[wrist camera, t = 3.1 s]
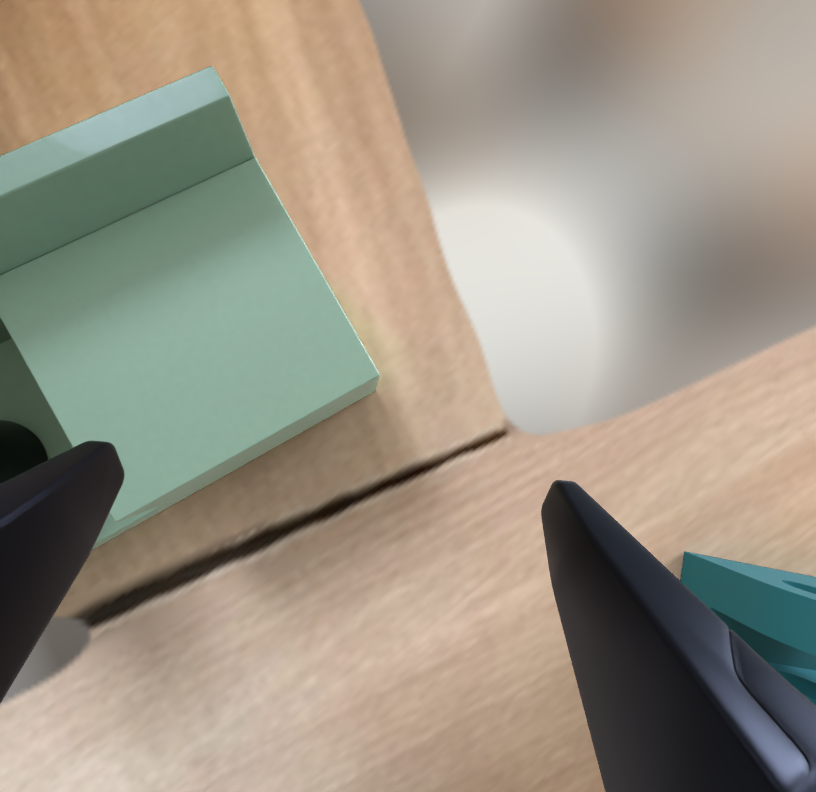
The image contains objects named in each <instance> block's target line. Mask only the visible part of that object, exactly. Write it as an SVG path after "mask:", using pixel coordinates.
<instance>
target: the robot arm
mask: <svg viewBox="0 0 816 792" xmlns="http://www.w3.org/2000/svg"><path fill="white" fill-rule="evenodd" d="M124 476H125V474H124V469H123V466H122V464H121V461H120V459H119V456H118V453H117V451H116V448H115V446H114V445H113V444H112V443H110V442H104V441H86V442H84V443H81V444H79V445H77V446H75V447H73V448H71V449H69V450H67V451H65V452H63V453H61V454H59V455H57V456H55V457H53V458H51V459H49V460H47V461H45V462H43V463H41V464H39V465H37V466H35V467H33V468H31V469H29V470H27V471H25V472H23V473H21V474H19V475H17V476H15V477H13V478H11V479H9V480H7V481H5V482H3V483H1V484H0V703H1V702H2V700H3V698H4V697H5V695H6V693H7V691H8V690H9V688H10V687H11V685H12V683H13V681H14V680H15V678H16V677H17V675H18V673H19V672H20V670H21V668H22V666H23V665H24V663H25V661H26V660H27V658H28V657H29V655H30V653H31V652H32V650H33V648H34V646H35V645H36V643H37V642H38V640H39V638H40V637H41V635H42V633H43V632H44V630H45V628H46V627H47V625H48V623H49V622H50V620H51V618H52V617H53V615H54V613H55V612H56V610H57V608H58V606H59V605H60V603H61V601H62V600H63V598H64V596H65V595H66V593H67V591H68V590H69V588H70V586H71V585H72V583H73V581H74V580H75V578H76V576H77V575H78V573H79V571H80V570H81V568H82V566H83V565H84V563H85V561H86V559H87V558H88V556H89V554H90V552H91V550H92V548H93V546H94V544H95V542H96V540H97V538H98V536H99V534H100V532H101V530H102V527H103V525H104V523H105V521H106V519H107V517H108V514H109V512H110V510H111V508H112V506H113V504H114V501H115V499H116V497H117V495H118V493H119V491H120V489H121V486H122V484H123V481H124ZM541 516H542V523H543V530H544V537H545V543H546V550H547V557H548V564H549V571H550V577H551V582H552V587H553V591H554V596H555V600H556V603H557V607H558V611H559V615H560V619H561V623H562V626H563V630H564V634H565V638H566V642H567V646H568V649H569V653H570V657H571V661H572V665H573V669H574V672H575V676H576V680H577V684H578V688H579V692H580V695H581V699H582V703H583V707H584V711H585V715H586V718H587V722H588V726H589V730H590V734H591V738H592V741H593V745H594V749H595V753H596V757H597V761H598V764H599V768H600V772H601V776H602V780H603V784H604V787H605V791H606V792H816V705H815V704H813V703H812V702H811V701H810V700H809V699H808V698H806V697H805V696H804V695H803V694H802V693H801V692H800V691H798V690H797V689H796V688H795V687H794V686H793V685H791V684H790V683H789V682H788V681H787V680H786V679H785V678H784V677H782V676H781V675H780V674H779V673H778V672H777V671H776V670H775V669H774V668H773V667H772V666H770V665H769V664H768V663H767V662H766V661H765V660H764V659H763V658H762V657H761V656H760V655H758V654H757V653H756V652H755V651H754V650H753V649H752V648H751V647H750V646H749V645H748V644H747V643H746V642H744V641H743V640H742V639H741V638H740V637H739V636H738V635H737V634H736V633H735V632H734V631H733V630H729V629H728V626H727V625H726V624H725V623H724V622H723V621H722V620H721V619H720V618H719V617H718V616H717V615H716V614H715V613H714V612H712V611H711V610H710V609H709V608H708V607H707V606H706V605H705V604H704V603H703V602H702V601H701V600H700V599H699V598H698V597H697V596H695V595H694V594H693V593H692V592H691V591H690V590H689V589H688V588H687V587H686V586H685V585H684V584H683V583H682V582H681V581H680V580H679V579H677V578H676V577H675V576H674V575H673V574H672V573H671V572H670V571H669V570H668V569H667V568H666V567H665V566H664V565H663V564H662V563H660V562H659V561H658V560H657V559H656V558H655V557H654V556H653V555H652V554H651V553H650V552H649V551H648V550H647V549H646V548H645V547H644V546H642V545H641V544H640V543H639V542H638V541H637V540H636V539H635V538H634V537H633V536H632V535H631V534H630V533H629V532H628V531H627V530H625V529H624V528H623V527H622V526H621V525H620V524H619V523H618V522H617V521H616V520H615V519H614V518H613V517H612V516H611V515H610V514H608V513H607V512H606V511H605V510H604V509H603V508H602V507H601V506H600V505H599V504H598V503H597V502H596V501H595V500H594V499H593V498H592V497H590V496H589V495H588V494H587V493H586V492H585V491H584V490H583V489H582V488H581V487H580V486H579V485H578V484H576V483H575V482H572V481H562V480H556V481H554V482H553V484H552V485H551V487H550V490H549V492H548V494H547V496H546V498H545V500H544V503H543V505H542V510H541Z"/></svg>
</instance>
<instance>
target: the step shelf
mask: <svg viewBox="0 0 816 792" xmlns="http://www.w3.org/2000/svg"><path fill="white" fill-rule="evenodd" d="M379 376H380V374H379V372H378V370H377V368H376V367H375V365H374V363H373V361H372V360H371V358H370V356H369V354H368V353H367V351H366V349H365V347H364V346H363V344H362V342H361V340H360V339H359V337H358V335H357V333H356V332H355V330H354V328H353V326H352V325H351V323H350V321H349V319H348V318H347V316H346V314H345V312H344V311H343V309H342V307H341V305H340V304H339V302H338V300H337V299H336V297H335V295H334V293H333V292H332V290H331V288H330V286H329V285H328V283H327V281H326V279H325V278H324V276H323V274H322V272H321V271H320V269H319V267H318V265H317V264H316V262H315V260H314V258H313V257H312V255H311V253H310V251H309V250H308V248H307V246H306V244H305V243H304V241H303V239H302V237H301V236H300V234H299V232H298V230H297V229H296V227H295V225H294V223H293V222H292V220H291V218H290V216H289V215H288V213H287V211H286V209H285V208H284V206H283V204H282V202H281V201H280V199H279V197H278V195H277V194H276V192H275V190H274V189H273V187H272V185H271V183H270V182H269V180H268V178H267V176H266V175H265V173H264V171H263V169H262V168H261V166H260V164H259V162H258V161H257V159H256V158H255V155H254V153H253V150H252V148H251V145H250V143H249V141H248V138H247V136H246V133H245V131H244V128H243V126H242V124H241V121H240V119H239V116H238V114H237V111H236V109H235V107H234V104H233V102H232V99H231V97H230V95H229V93H228V91H227V90H226V88H225V86H224V84H223V83H222V81H221V79H220V77H219V76H218V74H217V72H216V70H215V69H214V67H213V66H210V67H208V68H205V69H203V70H201V71H198V72H196V73H194V74H191V75H189V76H187V77H184V78H182V79H180V80H177V81H175V82H173V83H170V84H168V85H165V86H163V87H161V88H158V89H156V90H154V91H151V92H149V93H147V94H144V95H142V96H140V97H137V98H135V99H133V100H130V101H128V102H126V103H123V104H121V105H119V106H116V107H114V108H112V109H109V110H107V111H105V112H102V113H100V114H98V115H95V116H93V117H91V118H88V119H86V120H84V121H81V122H79V123H77V124H74V125H72V126H70V127H67V128H65V129H63V130H60V131H58V132H55V133H53V134H51V135H48V136H46V137H44V138H41V139H39V140H37V141H34V142H32V143H30V144H27V145H25V146H23V147H20V148H18V149H16V150H13V151H11V152H9V153H6V154H4V155H2V156H0V420H5V421H10V422H14V423H17V424H20V425H22V426H24V427H26V428H27V429H29V430H30V431H31V432H33V433H34V434H35V435H36V436H37V437H38V439H39V440H40V441H41V443H42V444H43V446H44V448H45V451H46V453H47V457H48V460H49V459H51V458H53V457H55V456H57V455H59V454H61V453H63V452H65V451H67V450H69V449H71V448H73V447H75V446H77V445H79V444H81V443H84V442H86V441H104V442H110V443H112V444H113V445H114V446H115V448H116V451H117V453H118V456H119V459H120V461H121V464H122V466H123V469H124V474H125V476H124V481H123V484H122V486H121V489H120V491H119V493H118V495H117V497H116V499H115V501H114V504H113V506H112V508H111V510H110V512H109V514H108V517H107V519H106V521H105V523H104V525H103V527H102V530H101V532H100V534H99V536H98V538H97V540H96V542H95V544H94V546H93V548H92V550H94V549H95V548H97V547H99V546H101V545H103V544H104V543H106V542H108V541H110V540H111V539H113V538H115V537H117V536H119V535H120V534H122V533H124V532H126V531H127V530H129V529H131V528H133V527H135V526H136V525H138V524H140V523H142V522H143V521H145V520H147V519H149V518H151V517H152V516H154V515H156V514H158V513H159V512H161V511H163V510H165V509H167V508H168V507H170V506H172V505H174V504H175V503H177V502H179V501H181V500H183V499H184V498H186V497H188V496H190V495H191V494H193V493H195V492H197V491H199V490H200V489H202V488H204V487H206V486H207V485H209V484H211V483H213V482H215V481H216V480H218V479H220V478H222V477H223V476H225V475H227V474H229V473H230V472H232V471H234V470H236V469H238V468H239V467H241V466H243V465H245V464H246V463H248V462H250V461H252V460H254V459H255V458H257V457H259V456H261V455H262V454H264V453H266V452H268V451H270V450H271V449H273V448H275V447H277V446H278V445H280V444H282V443H284V442H286V441H287V440H289V439H291V438H293V437H294V436H296V435H298V434H300V433H302V432H303V431H305V430H307V429H309V428H310V427H312V426H314V425H316V424H318V423H319V422H321V421H323V420H325V419H326V418H328V417H330V416H332V415H334V414H335V413H337V412H339V411H341V410H342V409H344V408H346V407H348V406H350V405H351V404H353V403H355V402H357V401H358V400H360V399H362V398H364V397H366V396H367V395H369V394H371V393H373V392H374V391H376V387H377V384H378V380H379ZM92 550H91V551H92Z"/></svg>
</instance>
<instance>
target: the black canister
mask: <svg viewBox="0 0 816 792" xmlns="http://www.w3.org/2000/svg"><path fill="white" fill-rule="evenodd" d="M47 460H48V457H47V453H46V451H45V448H44V446H43V444H42V443H41V441H40V440H39V439H38V437H37V436H36V435H35V434H34V433H33V432H31V431H30V430H29V429H27V428H26V427H24V426H22V425H20V424H17V423H14V422H10V421H5V420H0V484H1V483H3V482H5V481H7V480H9V479H11V478H13V477H15V476H17V475H19V474H21V473H23V472H25V471H27V470H29V469H31V468H33V467H35V466H37V465H39V464H41V463H43V462H45V461H47Z"/></svg>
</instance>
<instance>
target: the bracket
mask: <svg viewBox="0 0 816 792" xmlns="http://www.w3.org/2000/svg"><path fill="white" fill-rule="evenodd" d="M681 582H682V583H683V584H684V585H685V586H686V587H687V588H688V589H689V590H690V591H691V592H692V593H693V594H694V595H695V596H697V597H698V598H699V599H700V600H701V601H702V602H703V603H704V604H705V605H706V606H707V607H708V608H709V609H710V610H711V611H712V612H714V613H715V614H716V615H717V616H718V617H719V618H720V619H721V620H722V621H723V622H724V623H725V624H726V625H727V626H728V629H729V630H733V631H734V632H735V633H736V634H737V635H738V636H739V637H740V638H741V639H742V640H743V641H744V642H746V643H747V644H748V645H749V646H750V647H751V648H752V649H753V650H754V651H755V652H756V653H757V654H758V655H760V656H761V657H762V658H763V659H764V660H765V661H766V662H767V663H768V664H769V665H770V666H772V667H773V668H774V669H775V670H776V671H777V672H778V673H779V674H780V675H781V676H782V677H784V678H785V679H786V680H787V681H788V682H789V683H790V684H791V685H793V686H794V687H795V688H796V689H797V690H798V691H800V692H801V693H802V694H803V695H804V696H805V697H806V698H808V699H809V700H810V701H811V702H812V703H813V704H815V705H816V577H812V576H807V575H802V574H797V573H792V572H787V571H782V570H777V569H772V568H766V567H761V566H756V565H751V564H746V563H741V562H736V561H731V560H726V559H721V558H715V557H710V556H705V555H700V554H695V553H690V552H684V559H683V566H682V574H681Z"/></svg>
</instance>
